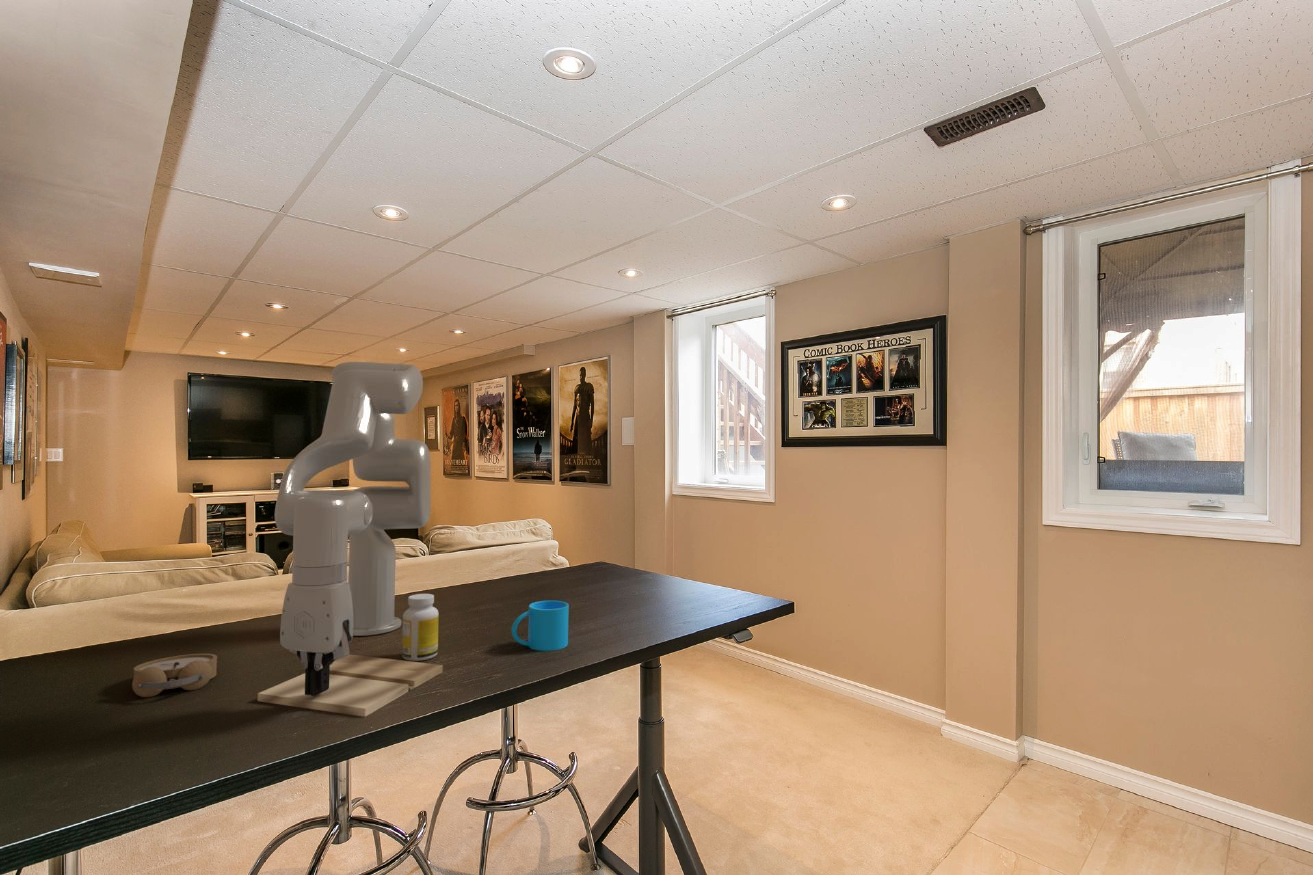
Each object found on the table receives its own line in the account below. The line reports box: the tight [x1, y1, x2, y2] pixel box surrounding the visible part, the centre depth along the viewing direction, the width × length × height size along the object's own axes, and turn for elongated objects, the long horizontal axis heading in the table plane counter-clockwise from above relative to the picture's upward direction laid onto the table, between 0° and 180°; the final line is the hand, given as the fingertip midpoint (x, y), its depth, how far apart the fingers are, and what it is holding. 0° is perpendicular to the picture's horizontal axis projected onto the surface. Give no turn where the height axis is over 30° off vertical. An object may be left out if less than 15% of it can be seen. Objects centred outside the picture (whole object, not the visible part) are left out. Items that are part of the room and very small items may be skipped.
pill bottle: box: [401, 593, 440, 662], centre depth 118 cm, size 6×6×12 cm
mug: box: [511, 600, 570, 652], centre depth 126 cm, size 12×8×8 cm
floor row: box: [330, 654, 444, 691], centre depth 108 cm, size 20×9×1 cm, turn 75°
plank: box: [257, 672, 409, 717], centre depth 99 cm, size 20×10×1 cm, turn 75°
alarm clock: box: [131, 653, 218, 698], centre depth 102 cm, size 11×5×15 cm
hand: (317, 691), depth 95 cm, fingers closed
